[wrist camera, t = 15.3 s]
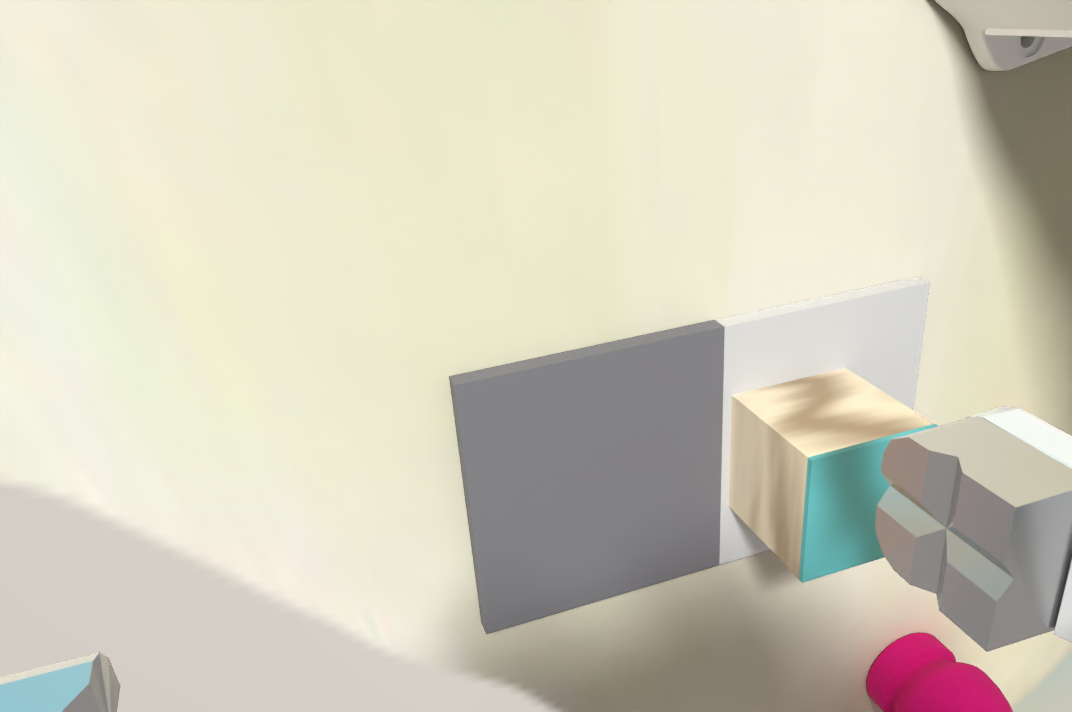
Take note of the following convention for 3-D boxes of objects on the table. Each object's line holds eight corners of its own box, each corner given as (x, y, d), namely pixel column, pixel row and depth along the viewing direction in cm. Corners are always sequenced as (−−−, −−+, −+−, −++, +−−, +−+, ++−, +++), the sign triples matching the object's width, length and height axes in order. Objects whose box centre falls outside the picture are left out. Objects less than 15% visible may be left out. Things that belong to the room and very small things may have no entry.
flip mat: (917, 276, 47) (930, 282, 46) (889, 502, 54) (900, 511, 53) (449, 376, 40) (454, 385, 39) (481, 622, 47) (486, 634, 46)
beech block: (811, 460, 39) (731, 394, 45) (802, 582, 42) (728, 505, 48) (939, 426, 41) (845, 367, 47) (920, 545, 44) (835, 476, 50)
